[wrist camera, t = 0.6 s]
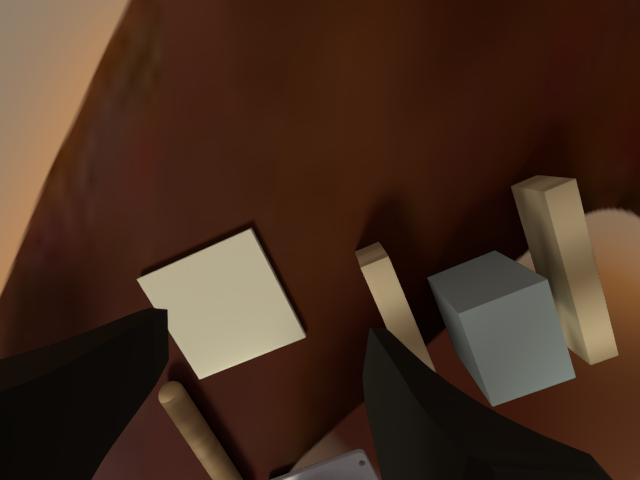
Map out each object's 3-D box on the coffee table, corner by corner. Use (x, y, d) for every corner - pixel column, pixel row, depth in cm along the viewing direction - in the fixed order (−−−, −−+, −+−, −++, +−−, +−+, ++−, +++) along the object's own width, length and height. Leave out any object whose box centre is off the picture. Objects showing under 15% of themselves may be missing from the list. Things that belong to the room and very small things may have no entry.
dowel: (256, 490, 25) (252, 512, 24) (237, 496, 26) (232, 518, 24) (180, 372, 23) (170, 388, 21) (160, 380, 23) (149, 397, 21)
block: (519, 328, 22) (575, 377, 17) (455, 352, 22) (492, 406, 18) (494, 249, 21) (547, 279, 16) (426, 277, 21) (458, 313, 16)
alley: (578, 328, 22) (618, 355, 19) (414, 388, 23) (428, 422, 20) (537, 175, 19) (575, 178, 16) (355, 251, 20) (360, 267, 18)
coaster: (305, 334, 22) (305, 337, 22) (201, 375, 23) (199, 379, 22) (251, 227, 20) (250, 229, 20) (140, 277, 21) (136, 279, 21)
